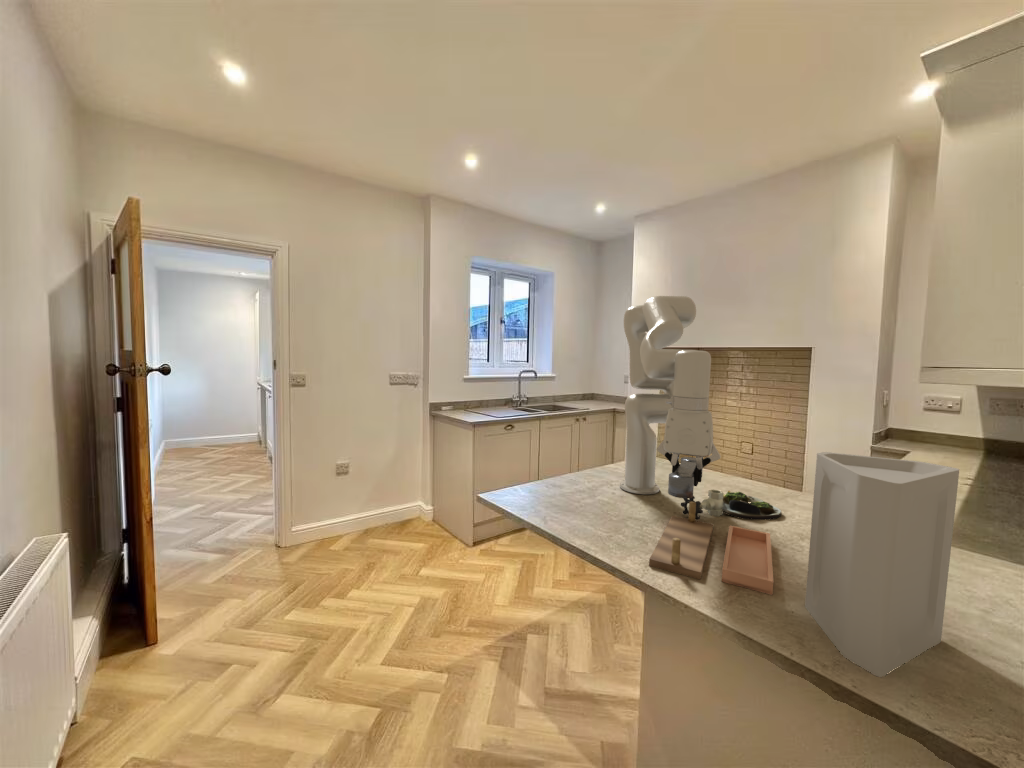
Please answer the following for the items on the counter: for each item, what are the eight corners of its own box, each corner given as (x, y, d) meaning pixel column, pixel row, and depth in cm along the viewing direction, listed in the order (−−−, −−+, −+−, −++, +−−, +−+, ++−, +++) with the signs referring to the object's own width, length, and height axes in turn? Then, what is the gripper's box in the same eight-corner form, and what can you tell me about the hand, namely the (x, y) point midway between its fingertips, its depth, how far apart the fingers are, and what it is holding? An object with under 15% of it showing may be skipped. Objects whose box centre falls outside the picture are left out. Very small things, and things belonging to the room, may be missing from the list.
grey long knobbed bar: (681, 471, 107) (682, 456, 106) (703, 474, 104) (704, 458, 104) (666, 495, 89) (666, 477, 88) (691, 499, 86) (692, 481, 86)
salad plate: (693, 496, 132) (693, 482, 132) (746, 496, 134) (747, 482, 133) (728, 521, 113) (729, 505, 113) (791, 520, 114) (792, 504, 114)
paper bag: (838, 591, 80) (850, 448, 78) (943, 640, 67) (961, 469, 64) (775, 616, 72) (786, 457, 69) (880, 678, 58) (899, 484, 56)
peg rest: (671, 520, 112) (673, 497, 111) (713, 529, 107) (714, 505, 106) (649, 565, 88) (650, 536, 88) (700, 579, 83) (702, 548, 83)
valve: (709, 509, 121) (679, 515, 116) (710, 487, 121) (681, 492, 116) (730, 517, 115) (699, 524, 110) (731, 494, 115) (701, 500, 110)
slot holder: (728, 535, 104) (729, 525, 103) (769, 543, 99) (770, 533, 99) (721, 581, 83) (722, 569, 82) (772, 595, 78) (773, 581, 78)
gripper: (649, 403, 96) (645, 481, 97) (730, 409, 88) (724, 494, 89) (656, 400, 102) (653, 473, 104) (732, 405, 94) (727, 485, 95)
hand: (686, 482), depth 96 cm, fingers closed on grey long knobbed bar, 3 cm apart
